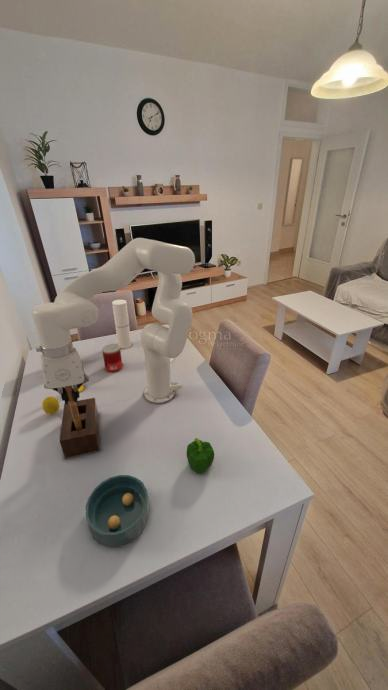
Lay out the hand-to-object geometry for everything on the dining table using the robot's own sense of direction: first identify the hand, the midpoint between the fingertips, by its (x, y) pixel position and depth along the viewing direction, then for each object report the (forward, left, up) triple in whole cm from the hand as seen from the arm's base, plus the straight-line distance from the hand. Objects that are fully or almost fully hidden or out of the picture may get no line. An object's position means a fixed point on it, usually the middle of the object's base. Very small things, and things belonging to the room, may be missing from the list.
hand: (71, 400), depth 84 cm
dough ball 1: (-9, +31, -16) cm, 36 cm away
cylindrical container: (-20, -64, -19) cm, 69 cm away
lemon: (+11, -18, -19) cm, 28 cm away
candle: (+3, -31, -19) cm, 36 cm away
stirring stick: (0, 0, -19) cm, 19 cm away
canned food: (-13, -43, -19) cm, 48 cm away
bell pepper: (-35, +20, -19) cm, 45 cm away
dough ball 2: (-13, +26, -16) cm, 33 cm away
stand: (0, -4, -19) cm, 19 cm away
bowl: (-10, +28, -19) cm, 35 cm away
